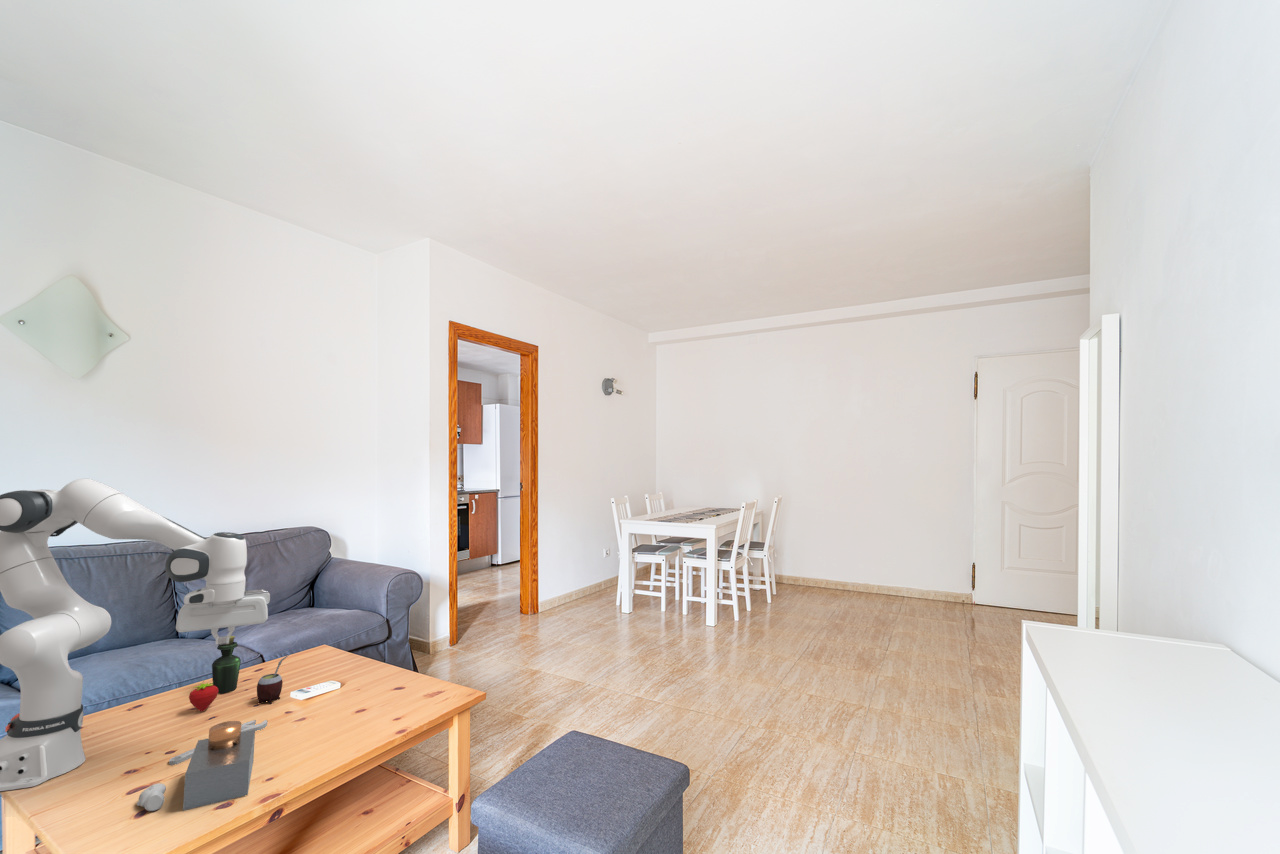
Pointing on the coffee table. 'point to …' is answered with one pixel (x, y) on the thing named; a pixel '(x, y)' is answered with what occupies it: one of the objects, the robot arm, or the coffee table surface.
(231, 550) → the robot arm
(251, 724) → the adjustable wrench
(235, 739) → the pin
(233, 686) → the potion bottle
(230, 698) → the coffee table surface
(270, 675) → the mate gourd
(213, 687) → the strawberry
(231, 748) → the block
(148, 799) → the mannequin head
